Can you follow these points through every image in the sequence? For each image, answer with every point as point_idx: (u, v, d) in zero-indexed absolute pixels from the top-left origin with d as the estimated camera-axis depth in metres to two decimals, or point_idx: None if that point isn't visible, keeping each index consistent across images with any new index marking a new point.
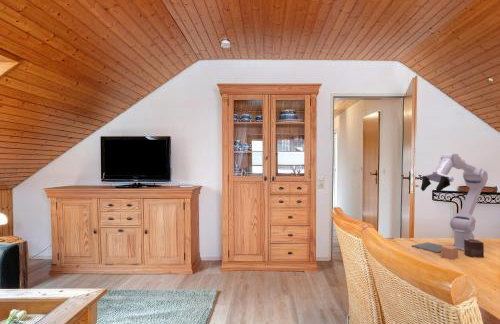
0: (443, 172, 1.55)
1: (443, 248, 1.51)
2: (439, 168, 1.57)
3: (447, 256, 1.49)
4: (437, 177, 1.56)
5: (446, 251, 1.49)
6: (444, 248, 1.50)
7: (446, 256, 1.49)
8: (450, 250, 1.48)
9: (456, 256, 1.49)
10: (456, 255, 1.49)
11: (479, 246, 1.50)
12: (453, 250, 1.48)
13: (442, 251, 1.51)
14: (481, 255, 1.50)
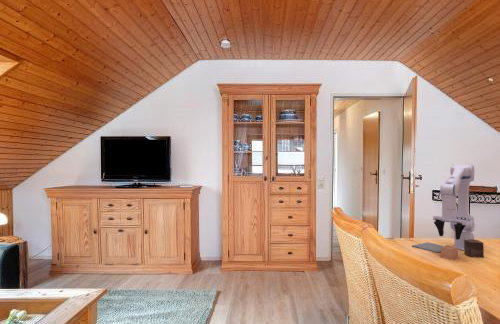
0: (452, 215, 1.48)
1: (443, 248, 1.51)
2: (446, 211, 1.49)
3: (447, 256, 1.49)
4: None
5: (446, 251, 1.49)
6: (444, 248, 1.50)
7: (446, 256, 1.49)
8: (450, 250, 1.48)
9: (456, 256, 1.49)
10: (456, 255, 1.49)
11: (479, 246, 1.50)
12: (453, 250, 1.48)
13: (442, 251, 1.51)
14: (481, 255, 1.50)
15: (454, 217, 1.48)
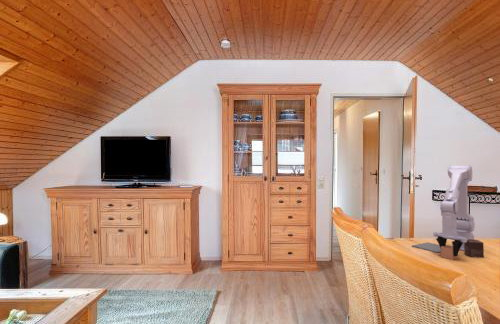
0: (452, 232, 1.48)
1: (443, 248, 1.51)
2: (446, 228, 1.49)
3: (447, 256, 1.49)
4: None
5: (446, 251, 1.49)
6: (444, 248, 1.50)
7: (446, 256, 1.49)
8: (450, 250, 1.48)
9: (456, 256, 1.49)
10: None
11: (479, 246, 1.50)
12: None
13: (442, 251, 1.51)
14: (481, 255, 1.50)
15: (454, 234, 1.48)
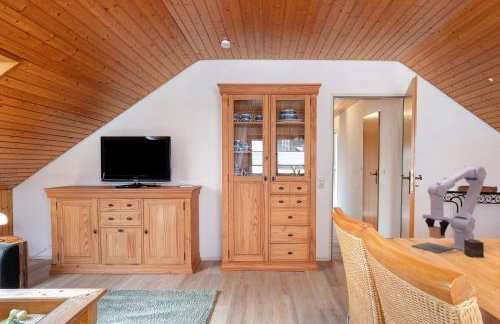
0: (440, 213, 1.59)
1: (431, 228, 1.62)
2: (434, 210, 1.61)
3: (435, 236, 1.60)
4: None
5: (434, 231, 1.61)
6: (432, 228, 1.62)
7: (434, 236, 1.61)
8: (438, 230, 1.59)
9: (443, 236, 1.60)
10: None
11: (479, 246, 1.50)
12: (440, 230, 1.59)
13: (430, 231, 1.63)
14: (481, 255, 1.50)
15: (441, 215, 1.60)
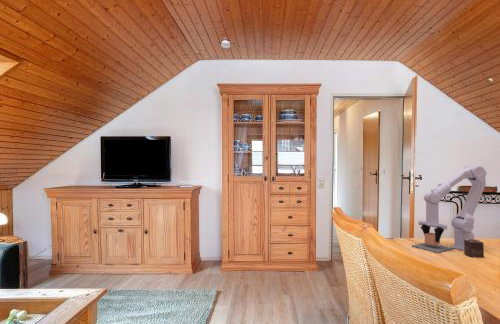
0: (435, 220, 1.64)
1: (426, 235, 1.67)
2: (429, 217, 1.66)
3: (430, 242, 1.66)
4: None
5: (429, 237, 1.66)
6: (427, 235, 1.67)
7: (429, 242, 1.66)
8: (433, 237, 1.64)
9: (438, 242, 1.65)
10: None
11: (479, 246, 1.50)
12: (435, 236, 1.64)
13: (425, 237, 1.68)
14: (481, 255, 1.50)
15: (436, 222, 1.65)
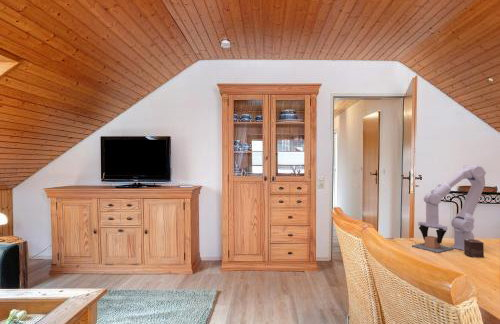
0: (435, 221, 1.64)
1: (426, 238, 1.67)
2: (429, 218, 1.66)
3: (430, 245, 1.66)
4: None
5: (429, 241, 1.66)
6: (427, 238, 1.67)
7: (429, 245, 1.66)
8: (432, 240, 1.64)
9: (438, 245, 1.65)
10: (438, 244, 1.65)
11: (479, 246, 1.50)
12: (435, 240, 1.64)
13: (425, 241, 1.68)
14: (481, 255, 1.50)
15: (436, 223, 1.65)
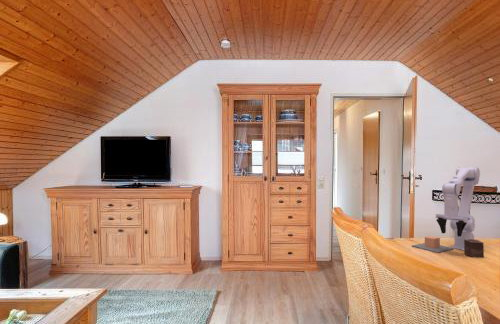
0: (454, 213, 1.54)
1: (426, 238, 1.67)
2: (448, 209, 1.55)
3: (430, 245, 1.66)
4: None
5: (429, 241, 1.66)
6: (427, 238, 1.67)
7: (429, 245, 1.66)
8: (432, 240, 1.64)
9: (438, 245, 1.65)
10: (438, 244, 1.65)
11: (479, 246, 1.50)
12: (435, 240, 1.64)
13: (425, 241, 1.68)
14: (481, 255, 1.50)
15: (456, 215, 1.54)
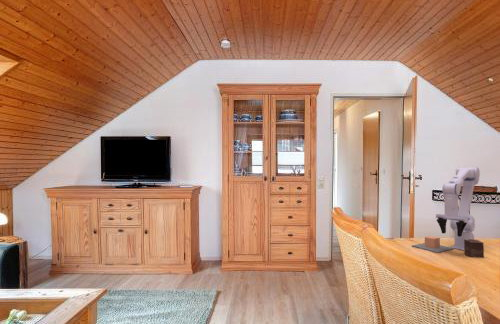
0: (454, 213, 1.54)
1: (426, 238, 1.67)
2: (448, 209, 1.55)
3: (430, 245, 1.66)
4: None
5: (429, 241, 1.66)
6: (427, 238, 1.67)
7: (429, 245, 1.66)
8: (432, 240, 1.64)
9: (438, 245, 1.65)
10: (438, 244, 1.65)
11: (479, 246, 1.50)
12: (435, 240, 1.64)
13: (425, 241, 1.68)
14: (481, 255, 1.50)
15: (456, 215, 1.54)
